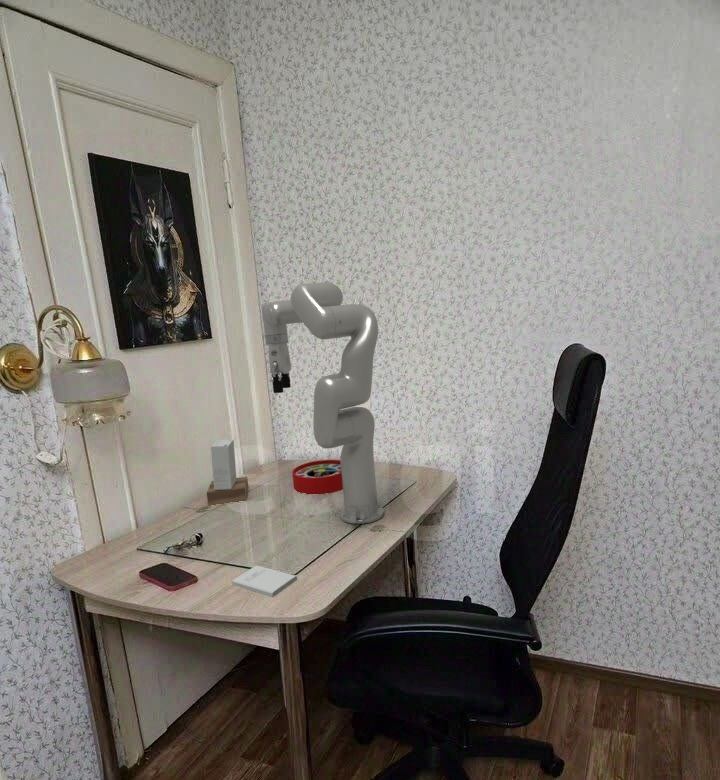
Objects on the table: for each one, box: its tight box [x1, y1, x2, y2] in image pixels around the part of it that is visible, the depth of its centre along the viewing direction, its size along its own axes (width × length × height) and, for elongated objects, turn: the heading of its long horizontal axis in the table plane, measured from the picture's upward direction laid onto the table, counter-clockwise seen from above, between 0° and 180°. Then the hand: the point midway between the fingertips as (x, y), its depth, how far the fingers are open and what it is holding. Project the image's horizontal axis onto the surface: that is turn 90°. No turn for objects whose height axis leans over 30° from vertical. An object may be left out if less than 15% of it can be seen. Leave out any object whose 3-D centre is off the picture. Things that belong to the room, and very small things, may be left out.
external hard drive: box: [231, 564, 298, 598], centre depth 122 cm, size 2×8×12 cm
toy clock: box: [291, 459, 343, 495], centre depth 185 cm, size 20×6×20 cm
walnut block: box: [206, 476, 250, 507], centre depth 180 cm, size 12×12×5 cm
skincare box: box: [210, 439, 237, 490], centre depth 176 cm, size 8×6×15 cm
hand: (282, 390), depth 183 cm, fingers open, 9 cm apart
